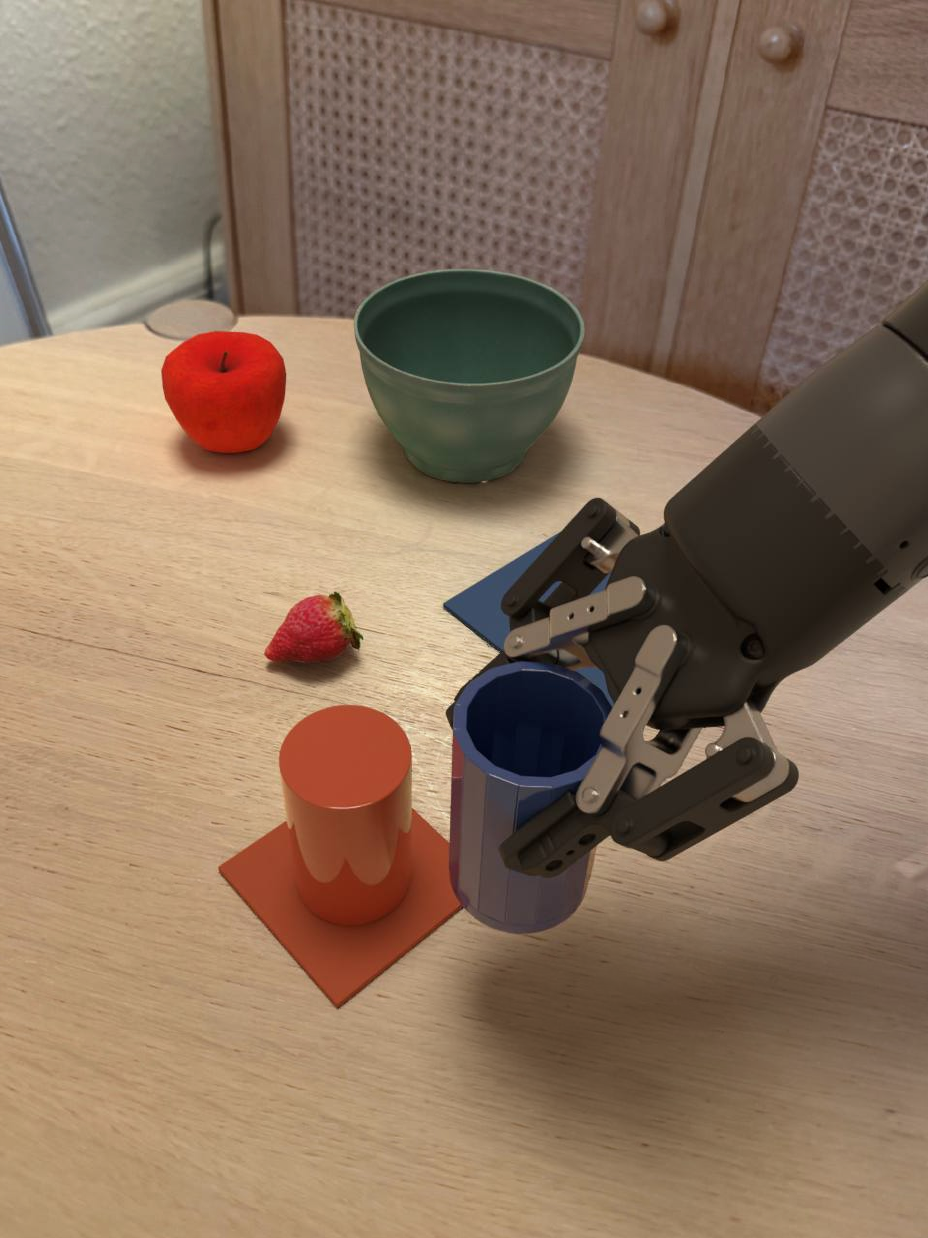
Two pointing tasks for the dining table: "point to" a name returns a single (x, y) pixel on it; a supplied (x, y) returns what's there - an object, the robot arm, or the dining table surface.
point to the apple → (225, 389)
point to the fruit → (315, 631)
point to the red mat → (338, 950)
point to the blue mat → (487, 618)
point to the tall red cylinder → (349, 812)
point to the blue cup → (518, 787)
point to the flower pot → (467, 366)
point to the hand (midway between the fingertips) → (488, 792)
